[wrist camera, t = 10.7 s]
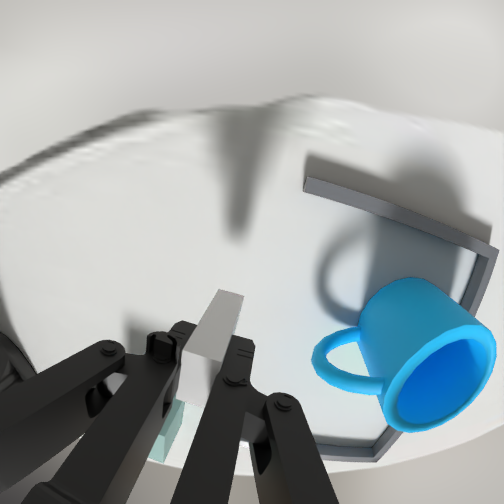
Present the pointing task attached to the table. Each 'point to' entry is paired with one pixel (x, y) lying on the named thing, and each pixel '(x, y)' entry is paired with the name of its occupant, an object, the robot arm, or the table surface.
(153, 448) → the block
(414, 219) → the tray frame
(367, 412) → the table surface
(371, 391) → the mug
